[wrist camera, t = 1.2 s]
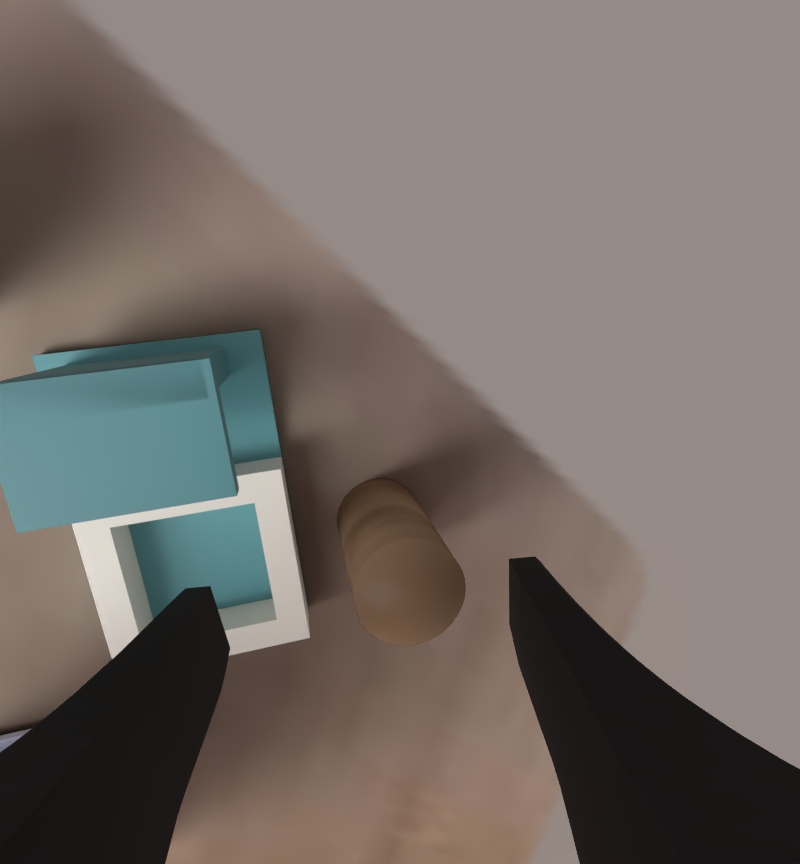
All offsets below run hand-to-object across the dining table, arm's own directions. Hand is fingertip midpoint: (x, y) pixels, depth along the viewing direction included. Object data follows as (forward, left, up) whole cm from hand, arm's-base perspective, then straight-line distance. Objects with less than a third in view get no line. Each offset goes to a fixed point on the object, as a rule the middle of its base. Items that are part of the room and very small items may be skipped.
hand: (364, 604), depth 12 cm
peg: (-3, -2, -12) cm, 12 cm away
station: (0, +6, -12) cm, 13 cm away
